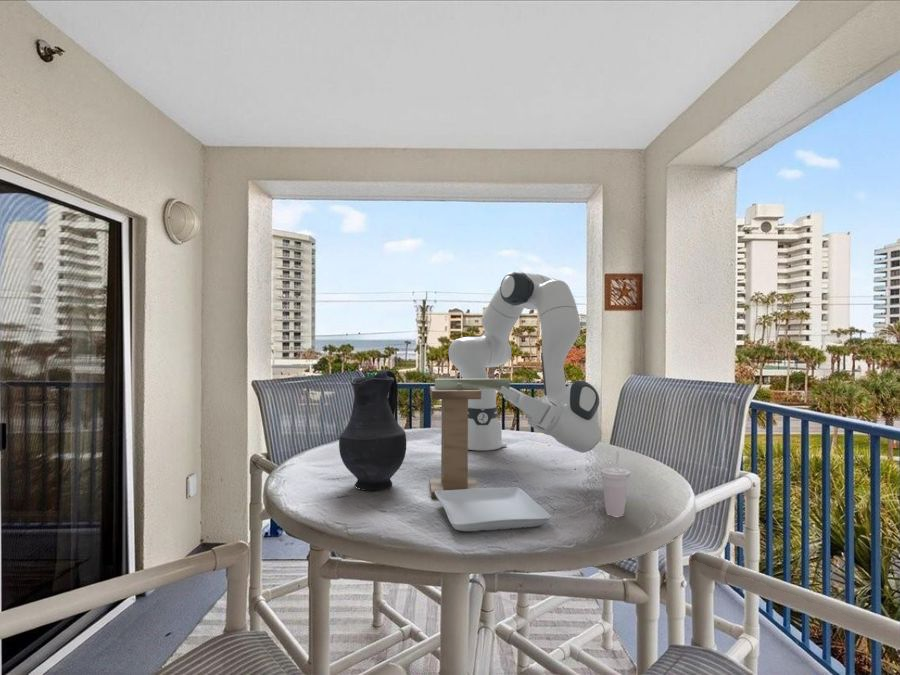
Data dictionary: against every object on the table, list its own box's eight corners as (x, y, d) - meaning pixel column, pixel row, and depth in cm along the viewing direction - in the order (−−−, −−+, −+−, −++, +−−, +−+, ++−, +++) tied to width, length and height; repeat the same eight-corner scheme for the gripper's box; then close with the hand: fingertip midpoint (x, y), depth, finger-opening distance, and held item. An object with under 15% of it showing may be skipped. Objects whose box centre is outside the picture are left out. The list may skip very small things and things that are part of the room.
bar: (434, 388, 132) (434, 378, 132) (507, 387, 133) (507, 378, 133) (435, 389, 129) (435, 379, 129) (509, 388, 131) (509, 379, 131)
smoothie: (631, 520, 110) (632, 455, 110) (600, 518, 112) (601, 454, 111) (627, 510, 117) (628, 449, 116) (598, 508, 118) (599, 447, 118)
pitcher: (326, 491, 130) (326, 372, 129) (367, 471, 149) (367, 367, 149) (387, 499, 124) (388, 374, 123) (422, 477, 143) (422, 369, 143)
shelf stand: (429, 483, 137) (429, 380, 136) (474, 483, 138) (474, 380, 137) (431, 498, 125) (432, 385, 124) (480, 497, 126) (481, 384, 125)
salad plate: (554, 532, 105) (554, 515, 105) (452, 540, 100) (452, 522, 100) (518, 499, 125) (518, 485, 125) (433, 505, 121) (433, 490, 121)
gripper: (538, 397, 144) (496, 372, 142) (560, 408, 123) (511, 379, 122) (527, 417, 143) (484, 392, 142) (547, 431, 123) (498, 402, 122)
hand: (497, 386), depth 132 cm, fingers open, 8 cm apart
